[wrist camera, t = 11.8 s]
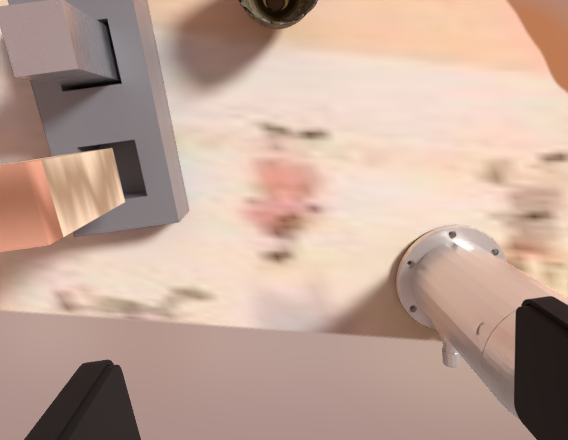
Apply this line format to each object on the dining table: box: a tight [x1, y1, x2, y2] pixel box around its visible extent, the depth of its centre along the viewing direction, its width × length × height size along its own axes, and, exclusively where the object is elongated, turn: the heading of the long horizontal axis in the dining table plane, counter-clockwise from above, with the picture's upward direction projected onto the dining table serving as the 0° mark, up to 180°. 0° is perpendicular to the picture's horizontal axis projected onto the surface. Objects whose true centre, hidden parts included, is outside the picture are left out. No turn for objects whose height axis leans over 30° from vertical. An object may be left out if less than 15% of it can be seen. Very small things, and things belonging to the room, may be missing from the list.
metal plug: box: [0, 0, 122, 89], centre depth 32 cm, size 4×4×12 cm
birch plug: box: [0, 148, 125, 252], centre depth 26 cm, size 4×4×12 cm
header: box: [8, 0, 189, 237], centre depth 37 cm, size 21×10×5 cm, turn 8°
